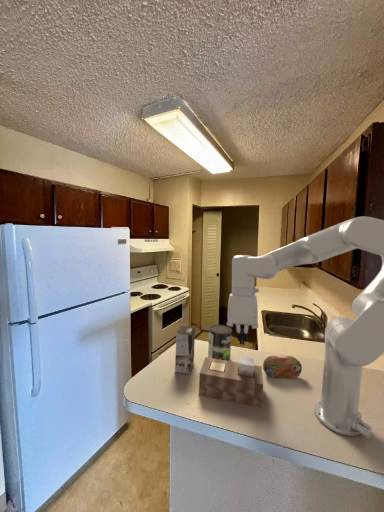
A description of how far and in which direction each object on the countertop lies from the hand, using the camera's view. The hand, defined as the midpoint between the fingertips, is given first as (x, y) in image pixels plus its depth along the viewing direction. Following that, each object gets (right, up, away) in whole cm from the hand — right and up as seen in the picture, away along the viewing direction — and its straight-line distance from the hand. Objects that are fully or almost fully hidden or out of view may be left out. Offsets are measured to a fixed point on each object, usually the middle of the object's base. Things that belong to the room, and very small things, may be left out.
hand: (242, 342), depth 79 cm
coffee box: (-20, -17, +16) cm, 31 cm away
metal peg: (+1, -14, +1) cm, 14 cm away
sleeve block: (-4, -18, +2) cm, 19 cm away
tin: (+18, -18, +12) cm, 29 cm away
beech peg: (-8, -17, +3) cm, 20 cm away
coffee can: (-5, -17, +24) cm, 29 cm away
